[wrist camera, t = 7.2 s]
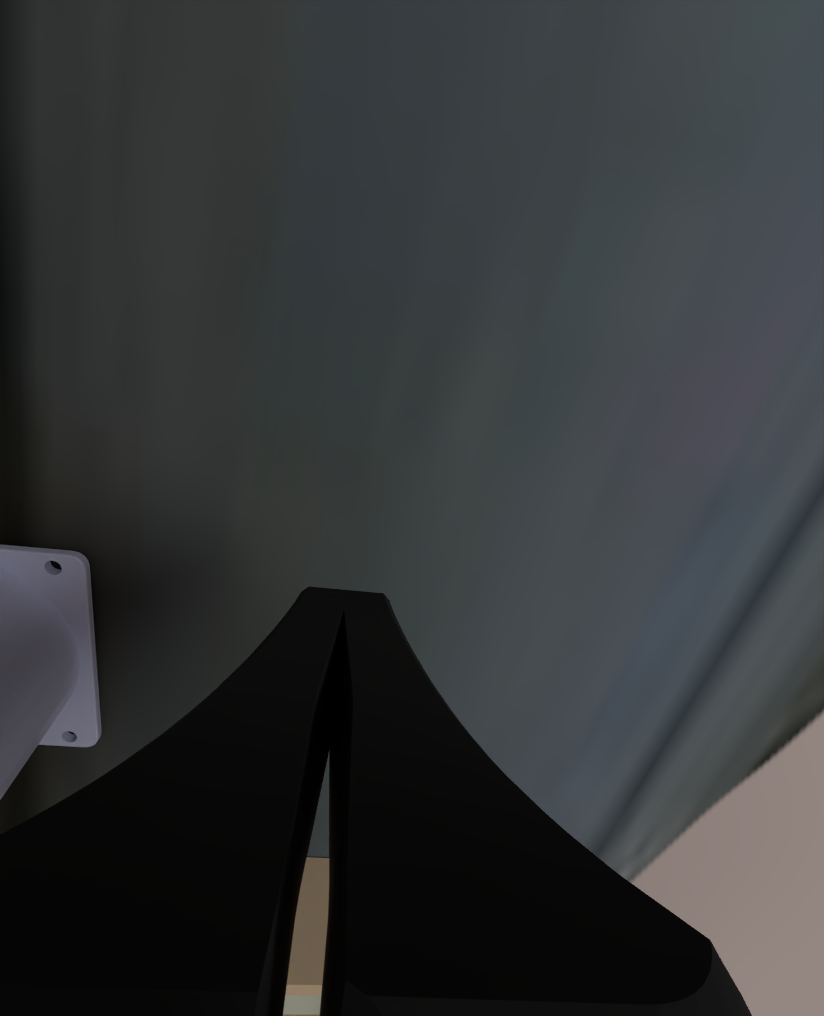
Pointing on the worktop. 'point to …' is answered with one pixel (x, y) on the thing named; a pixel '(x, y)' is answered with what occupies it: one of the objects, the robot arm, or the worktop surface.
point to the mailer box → (308, 941)
